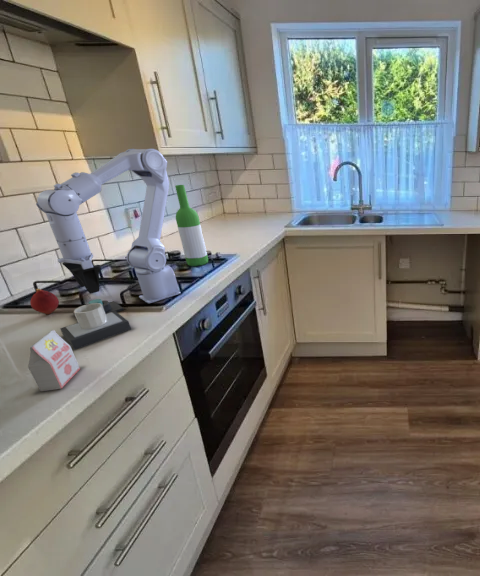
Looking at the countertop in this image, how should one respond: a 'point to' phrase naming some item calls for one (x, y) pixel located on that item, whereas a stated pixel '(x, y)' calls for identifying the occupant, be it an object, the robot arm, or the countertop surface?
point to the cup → (90, 315)
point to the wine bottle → (190, 231)
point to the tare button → (96, 301)
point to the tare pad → (110, 307)
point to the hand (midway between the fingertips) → (90, 288)
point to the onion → (44, 301)
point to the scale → (95, 331)
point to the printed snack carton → (52, 362)
